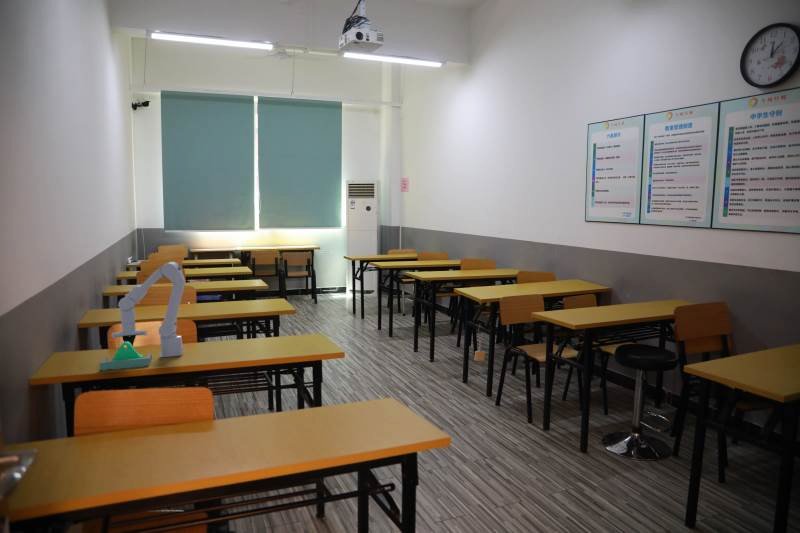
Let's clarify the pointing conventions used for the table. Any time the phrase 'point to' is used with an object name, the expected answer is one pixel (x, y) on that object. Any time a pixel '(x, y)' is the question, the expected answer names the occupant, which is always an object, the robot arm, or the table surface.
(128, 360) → the dock
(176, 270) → the robot arm
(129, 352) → the camera mount
